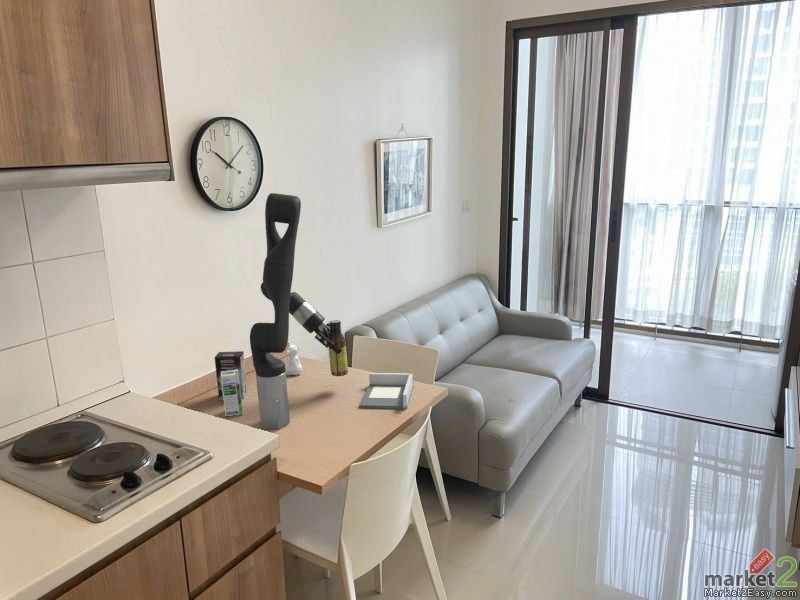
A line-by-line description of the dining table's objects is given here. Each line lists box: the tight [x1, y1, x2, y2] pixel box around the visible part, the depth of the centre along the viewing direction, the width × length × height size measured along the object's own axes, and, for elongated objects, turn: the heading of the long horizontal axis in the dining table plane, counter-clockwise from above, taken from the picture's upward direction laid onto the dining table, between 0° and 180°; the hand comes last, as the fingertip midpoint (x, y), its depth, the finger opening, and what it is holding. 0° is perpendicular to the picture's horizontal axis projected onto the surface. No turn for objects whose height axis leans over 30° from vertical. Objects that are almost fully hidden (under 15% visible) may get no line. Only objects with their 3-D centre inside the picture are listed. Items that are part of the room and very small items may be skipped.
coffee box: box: [214, 350, 248, 401], centre depth 212 cm, size 9×6×16 cm
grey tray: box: [359, 372, 414, 410], centre depth 208 cm, size 20×16×5 cm
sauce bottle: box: [328, 319, 349, 377], centre depth 213 cm, size 6×6×20 cm
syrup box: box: [221, 369, 244, 417], centre depth 198 cm, size 6×6×14 cm
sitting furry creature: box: [285, 344, 303, 376], centre depth 234 cm, size 10×9×12 cm
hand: (342, 349), depth 213 cm, fingers closed on sauce bottle, 6 cm apart
